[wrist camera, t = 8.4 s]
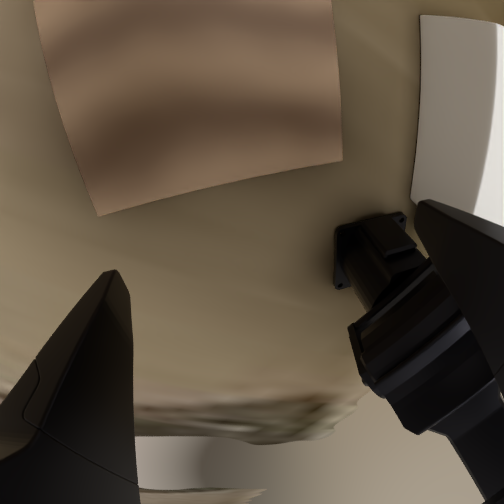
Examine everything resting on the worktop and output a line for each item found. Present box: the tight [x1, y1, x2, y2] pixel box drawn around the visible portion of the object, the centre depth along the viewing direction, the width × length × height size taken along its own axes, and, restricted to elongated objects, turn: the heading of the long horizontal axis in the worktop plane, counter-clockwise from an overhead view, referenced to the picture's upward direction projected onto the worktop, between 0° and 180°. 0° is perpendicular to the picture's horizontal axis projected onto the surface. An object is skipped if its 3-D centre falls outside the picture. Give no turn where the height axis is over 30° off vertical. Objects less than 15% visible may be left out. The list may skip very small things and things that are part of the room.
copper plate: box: [33, 0, 343, 217], centre depth 13 cm, size 20×16×1 cm
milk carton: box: [410, 15, 504, 227], centre depth 18 cm, size 7×7×19 cm
